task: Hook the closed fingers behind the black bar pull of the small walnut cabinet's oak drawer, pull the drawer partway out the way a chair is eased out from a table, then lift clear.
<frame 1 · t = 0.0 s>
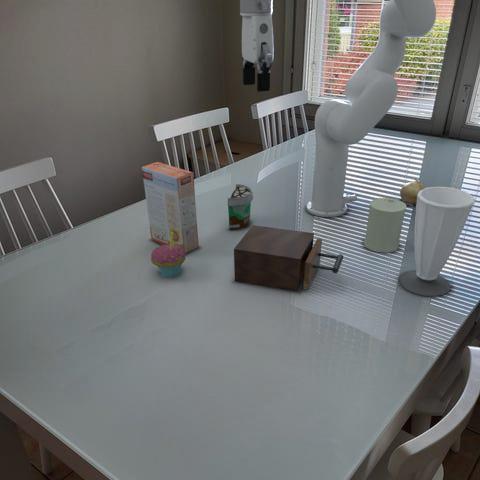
hand: (256, 87, 122), 37 cm above the table, tool pointing down, fingers open, 9 cm apart
drawer: (297, 260, 114), point 4 cm above the table, slide at 1.0 cm
onion: (411, 202, 153), on the table
cupcake: (170, 273, 119), on the table
cup: (424, 284, 113), on the table
can: (381, 245, 130), on the table
food container: (243, 224, 142), on the table
cracker box: (175, 244, 132), on the table
cabinet: (274, 273, 118), on the table
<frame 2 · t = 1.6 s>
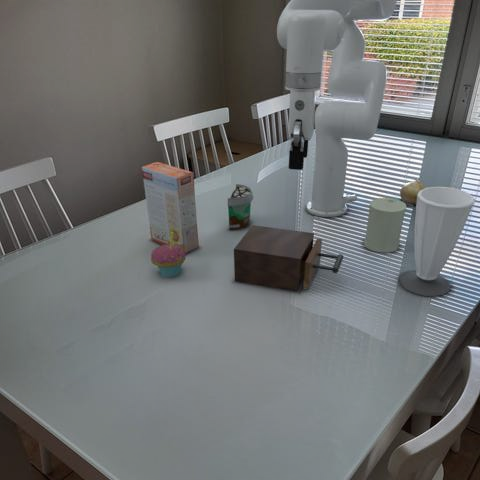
hand: (298, 162, 111), 24 cm above the table, tool pointing down, fingers open, 9 cm apart
nothing on the table moved.
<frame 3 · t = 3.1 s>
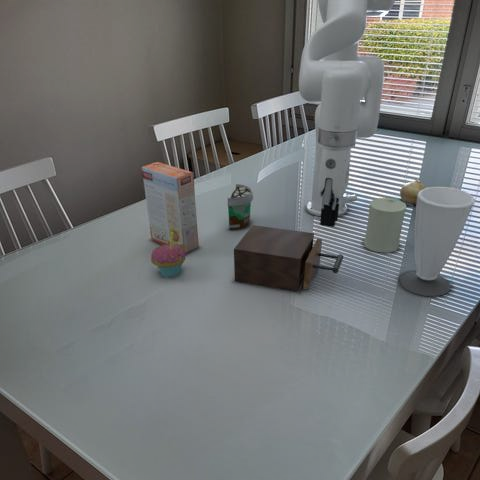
hand: (328, 222, 106), 15 cm above the table, tool pointing down, fingers closed
nothing on the table moved.
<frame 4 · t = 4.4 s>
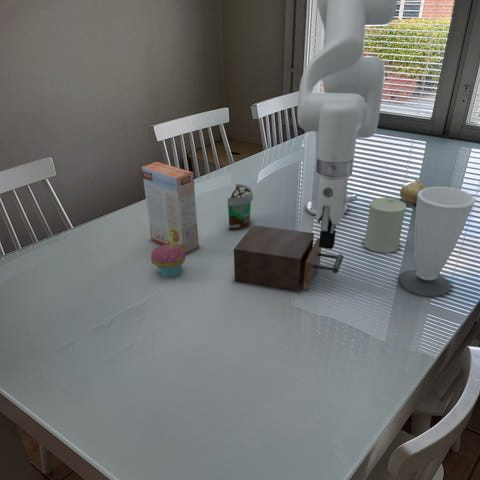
hand: (326, 246, 109), 9 cm above the table, tool pointing down, fingers closed
nothing on the table moved.
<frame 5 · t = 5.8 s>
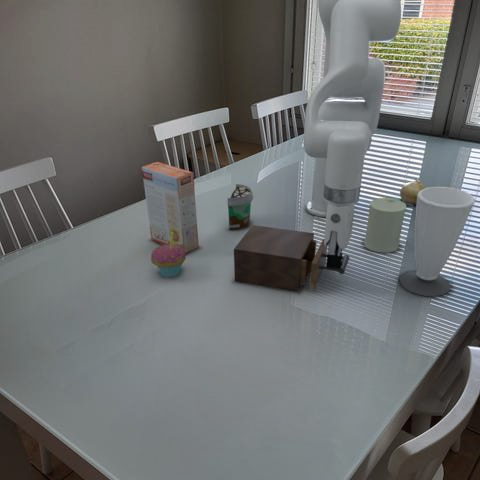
hand: (333, 268, 112), 4 cm above the table, tool pointing down, fingers closed
drawer: (303, 261, 114), point 4 cm above the table, slide at 2.4 cm
everything else where it was.
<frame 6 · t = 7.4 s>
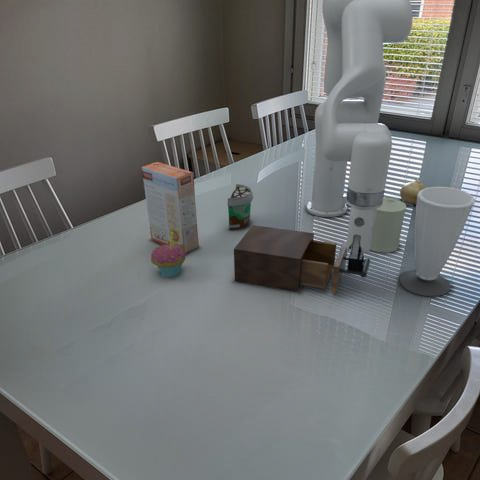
hand: (354, 272, 111), 4 cm above the table, tool pointing down, fingers closed
drawer: (323, 264, 112), point 4 cm above the table, slide at 7.3 cm, touching gripper
everything else where it was.
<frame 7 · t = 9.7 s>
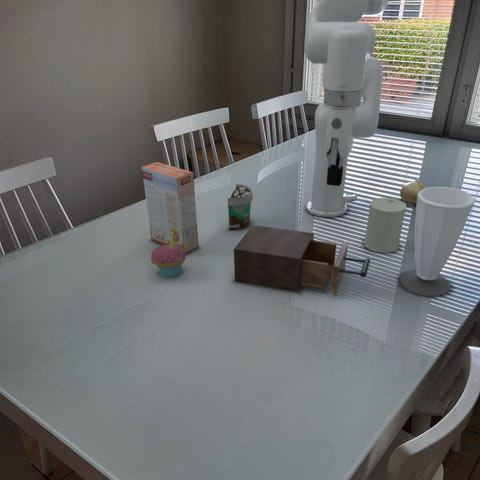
hand: (333, 183, 109), 21 cm above the table, tool pointing down, fingers closed
drawer: (323, 264, 112), point 4 cm above the table, slide at 7.3 cm
everything else where it was.
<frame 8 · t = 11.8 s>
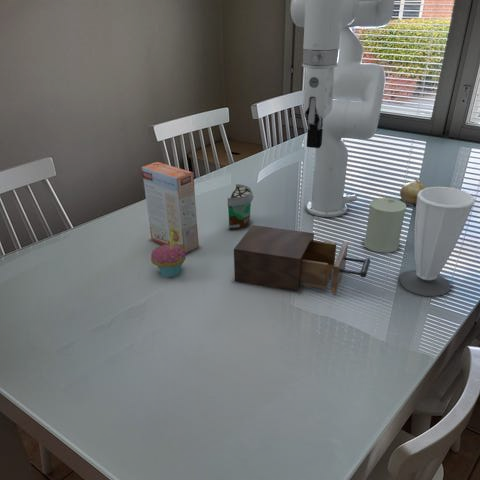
hand: (314, 146, 112), 27 cm above the table, tool pointing down, fingers closed
nothing on the table moved.
at the end: drawer slide at 7.3 cm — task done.
